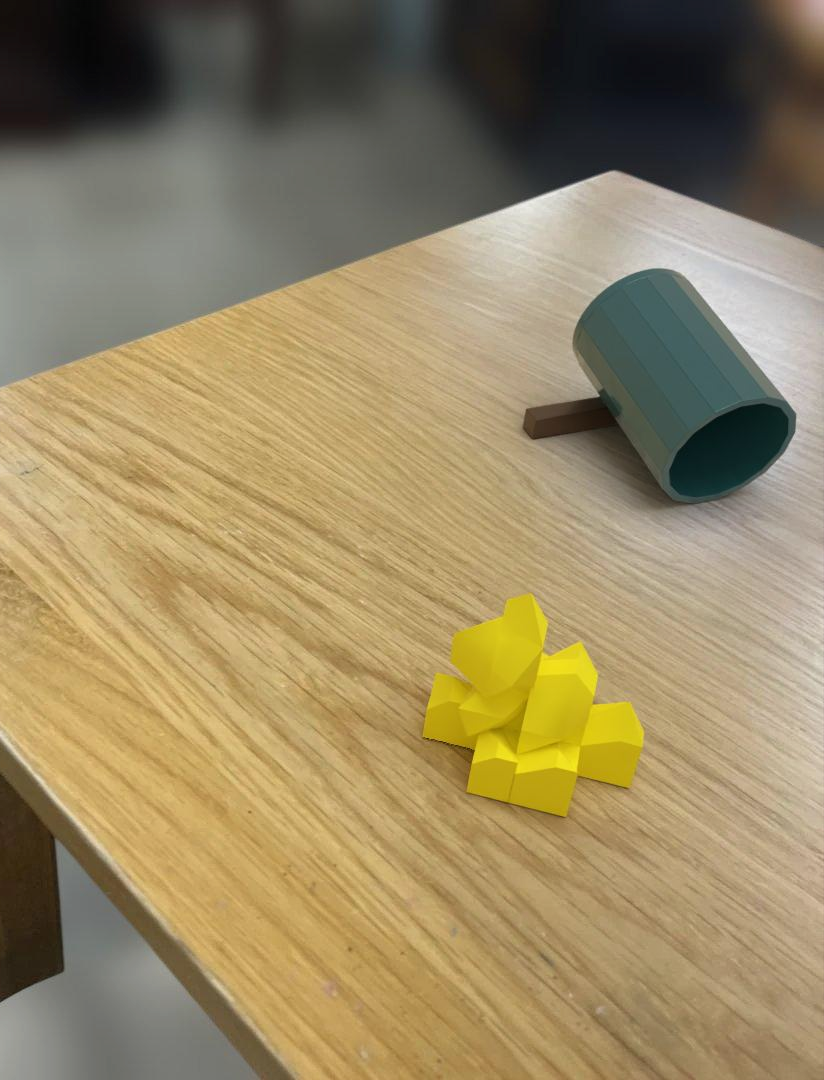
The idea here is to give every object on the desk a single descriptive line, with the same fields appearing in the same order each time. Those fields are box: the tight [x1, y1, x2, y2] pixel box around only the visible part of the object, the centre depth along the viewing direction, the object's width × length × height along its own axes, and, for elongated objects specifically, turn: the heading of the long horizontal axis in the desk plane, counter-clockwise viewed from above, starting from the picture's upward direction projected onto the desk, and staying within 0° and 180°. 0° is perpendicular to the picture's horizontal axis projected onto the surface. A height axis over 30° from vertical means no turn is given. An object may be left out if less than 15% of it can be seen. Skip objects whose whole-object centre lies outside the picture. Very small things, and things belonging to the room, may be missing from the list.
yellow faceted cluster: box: [422, 592, 645, 818], centre depth 45 cm, size 6×8×8 cm
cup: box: [571, 267, 797, 504], centre depth 61 cm, size 7×7×10 cm
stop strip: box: [522, 396, 619, 440], centre depth 66 cm, size 12×1×1 cm, turn 108°
